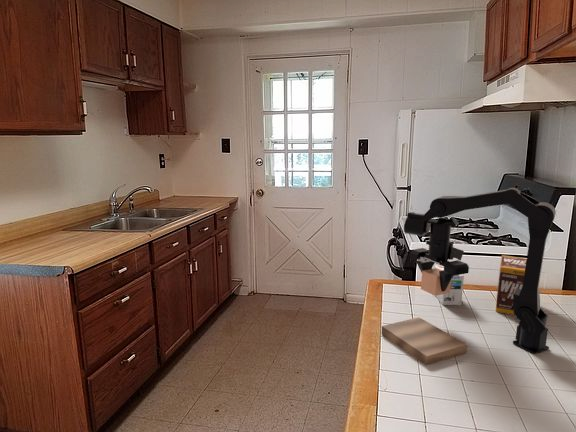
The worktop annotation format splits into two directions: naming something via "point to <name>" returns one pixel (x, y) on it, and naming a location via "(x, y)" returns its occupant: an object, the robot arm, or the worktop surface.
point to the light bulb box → (452, 291)
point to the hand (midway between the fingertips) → (435, 287)
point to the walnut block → (424, 340)
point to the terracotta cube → (433, 282)
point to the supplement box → (509, 282)
